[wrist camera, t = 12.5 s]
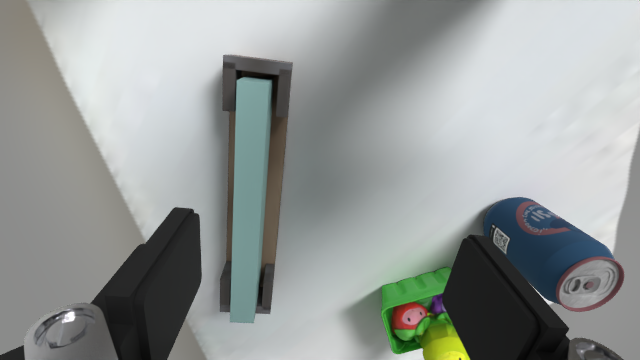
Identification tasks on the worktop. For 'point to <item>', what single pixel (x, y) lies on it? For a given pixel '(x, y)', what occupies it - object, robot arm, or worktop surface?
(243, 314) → the slat
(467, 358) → the fruit basket
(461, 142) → the worktop surface
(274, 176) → the endcap rail
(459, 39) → the worktop surface
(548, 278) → the soda can
